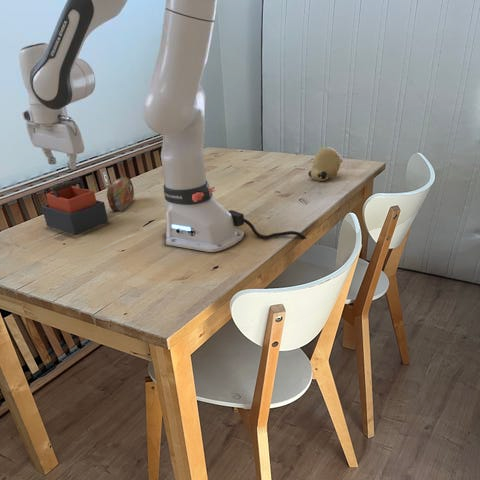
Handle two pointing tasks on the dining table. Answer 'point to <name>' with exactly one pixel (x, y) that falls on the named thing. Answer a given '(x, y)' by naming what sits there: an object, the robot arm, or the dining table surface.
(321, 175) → the beige plush toy
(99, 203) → the slate bin
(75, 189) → the terracotta bin
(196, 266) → the dining table surface
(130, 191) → the tin
